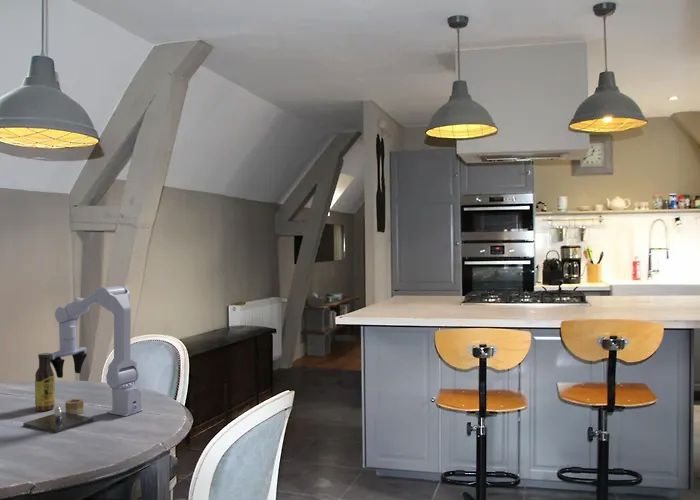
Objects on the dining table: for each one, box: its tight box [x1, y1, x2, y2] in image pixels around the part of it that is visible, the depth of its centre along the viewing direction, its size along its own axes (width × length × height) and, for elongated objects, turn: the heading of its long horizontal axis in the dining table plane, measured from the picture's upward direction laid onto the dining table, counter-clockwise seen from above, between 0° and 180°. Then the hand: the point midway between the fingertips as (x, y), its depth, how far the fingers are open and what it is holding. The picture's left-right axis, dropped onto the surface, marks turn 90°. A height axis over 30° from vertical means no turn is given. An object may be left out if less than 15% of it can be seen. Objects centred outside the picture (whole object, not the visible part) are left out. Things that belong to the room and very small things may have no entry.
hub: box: [22, 406, 94, 434], centre depth 207 cm, size 16×14×5 cm
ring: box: [64, 398, 85, 415], centre depth 220 cm, size 6×6×4 cm
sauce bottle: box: [34, 352, 56, 412], centre depth 224 cm, size 6×6×20 cm
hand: (68, 375), depth 233 cm, fingers open, 7 cm apart
